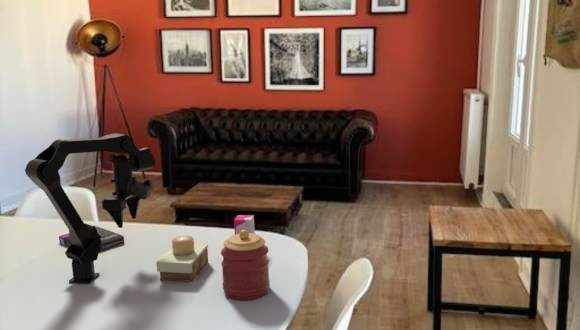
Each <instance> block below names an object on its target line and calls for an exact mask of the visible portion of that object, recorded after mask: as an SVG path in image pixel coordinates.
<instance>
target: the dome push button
mask: <svg viewBox="0 0 580 330" xmlns="http://www.w3.org/2000/svg"><path fill="white" fill-rule="evenodd" d="M194 244H195V239H194V237H193V236H190V235H181V236H176V237H173V238H172V239H171V248H172V249H173V254H174V255H176V256H187V255H190V254H193V253H194Z"/></svg>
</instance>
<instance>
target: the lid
mask: <svg viewBox="0 0 580 330" xmlns="http://www.w3.org/2000/svg"><path fill="white" fill-rule="evenodd" d="M208 248H209V244H207V243H206V244H205V243H194V253H193V254H190V255H187V256H176V255H174V254H173V249H172V247H170V248H169V249H168V250H167V251H166V252H165V253H164V254H163V255H162V256H161V257H160V258H159V259H158V260H157V261H156V262H155V263H156V272H157V273H158V272H159V273H160V272H175V273H192V272H193V270H192V264H193V263H194V262H195V261H196V260H197V259H198V258H199V256H200V255H201V254H202V253H203V252H204V251H205V250H206V249H207V250H208Z"/></svg>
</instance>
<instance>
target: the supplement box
mask: <svg viewBox="0 0 580 330" xmlns="http://www.w3.org/2000/svg"><path fill="white" fill-rule="evenodd" d="M233 223H234V224H233V226H234V235H236V234H239V233H240V231H241V230H247V231H248V233H252V234H256V233H255V232H256V231H255V215H254V214H246V215H245V214H244V215H243V214H239V215H236V217H235V218H234V220H233Z"/></svg>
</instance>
